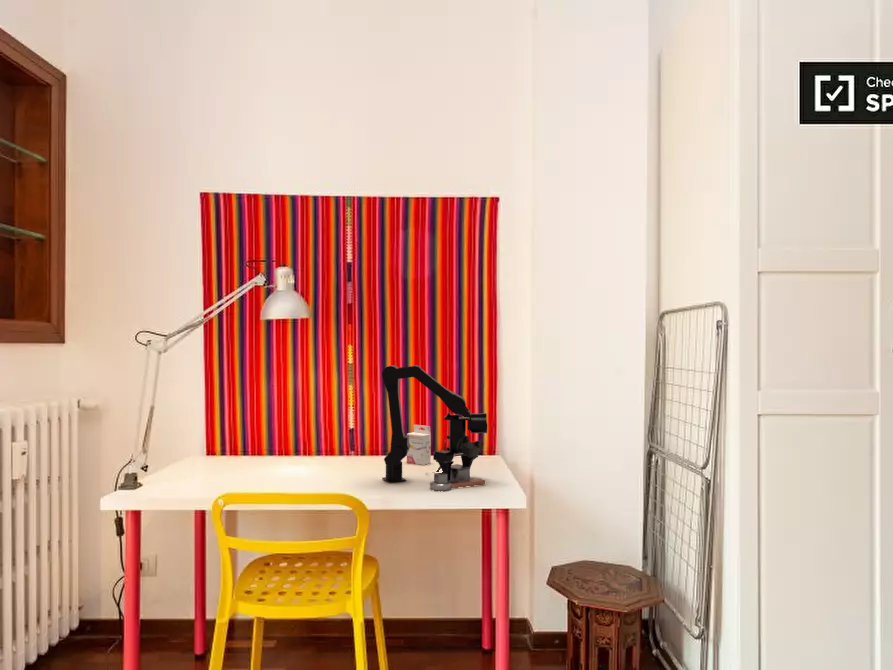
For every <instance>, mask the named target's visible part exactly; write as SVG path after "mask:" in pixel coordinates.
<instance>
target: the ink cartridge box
mask: <svg viewBox="0 0 893 670" xmlns="http://www.w3.org/2000/svg"><path fill="white" fill-rule="evenodd" d="M408 435H409V443H410V445H411V447H410V448H409V451H408V453H407V455H406V463H407V464H411V463H415V464H414V465H418V464H421V465H420V466H425V464H427V465H429V464H428V463H430V464H431V457H432V455H431V453H432V452H431V450H432V447H431V445H432V442H431V441H432V440H431V439H432V435H431V426H429V425H421V424H413V432H408V433H406V436H408Z"/></svg>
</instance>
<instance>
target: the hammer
mask: <svg viewBox="0 0 893 670" xmlns="http://www.w3.org/2000/svg"><path fill="white" fill-rule="evenodd" d="M433 478H434V479H433V481H430V482H429V490H430V489H431V490H430V491H432V490H434V491H433V492H438V491H440V492H441V491H443V492H449V491H451V490H452V489H451V488H455V489H459V488H458V487H463V488H467V487H466V486H471V487H475V486H474V485H480V486H485V485H486V480H485V479H483V478H481V477H480V478H479V477H478V478H470V480H461V481H453V482H449V481H447V474H446V473H443V472H442V473H435V472H433ZM484 484H485V485H484ZM440 492H439V493H440ZM441 493H442V492H441Z"/></svg>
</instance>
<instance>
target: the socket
mask: <svg viewBox="0 0 893 670" xmlns="http://www.w3.org/2000/svg"><path fill="white" fill-rule="evenodd" d="M470 469H471V467H469V466H464V465H462V464H458V463H457V464H456V463H455V464H452V465H451V476H450V481H449V482H453V481H461V480H470V479H471V472H470V471H471V470H470ZM447 481H448V480H447Z"/></svg>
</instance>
